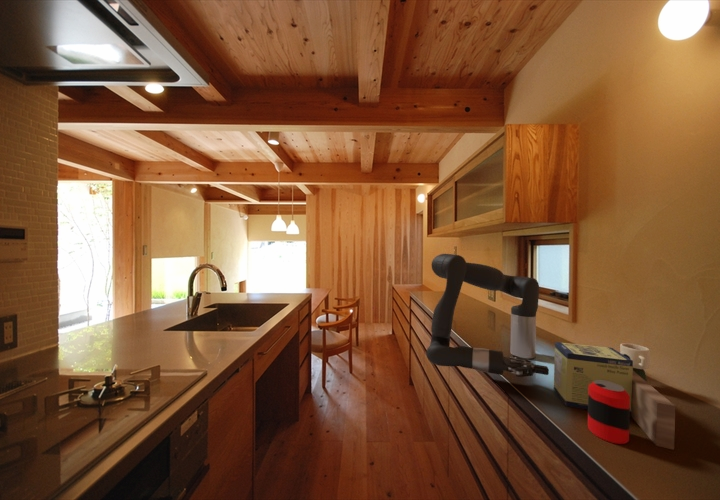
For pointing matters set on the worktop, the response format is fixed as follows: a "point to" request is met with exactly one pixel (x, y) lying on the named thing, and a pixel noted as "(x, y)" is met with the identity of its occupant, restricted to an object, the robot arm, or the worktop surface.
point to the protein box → (588, 371)
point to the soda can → (608, 411)
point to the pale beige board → (653, 413)
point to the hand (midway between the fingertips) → (548, 370)
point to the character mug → (637, 357)
